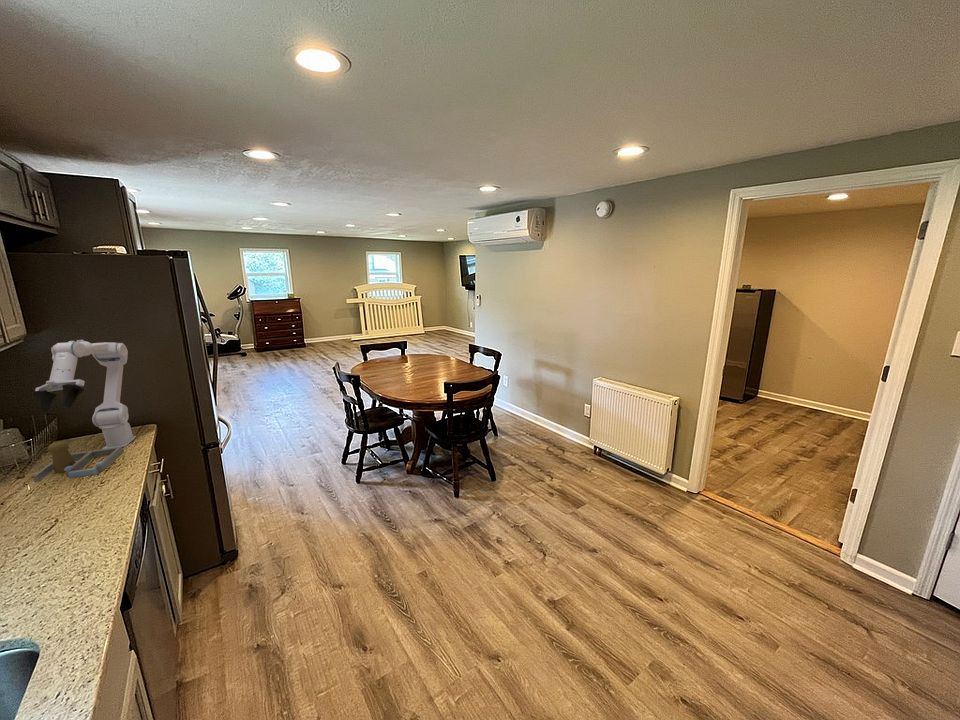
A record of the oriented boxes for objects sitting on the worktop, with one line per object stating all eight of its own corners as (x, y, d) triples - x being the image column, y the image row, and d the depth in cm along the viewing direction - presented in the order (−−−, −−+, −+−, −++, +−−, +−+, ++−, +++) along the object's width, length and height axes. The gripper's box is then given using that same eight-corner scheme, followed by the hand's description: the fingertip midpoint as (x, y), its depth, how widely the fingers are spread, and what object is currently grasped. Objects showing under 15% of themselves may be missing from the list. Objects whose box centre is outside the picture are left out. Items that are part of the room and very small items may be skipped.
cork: (65, 473, 141) (55, 447, 138) (49, 473, 141) (39, 447, 138) (81, 464, 146) (73, 439, 143) (66, 464, 147) (57, 439, 143)
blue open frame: (62, 460, 149) (60, 453, 148) (123, 451, 156) (121, 444, 155) (32, 483, 135) (29, 475, 134) (101, 473, 141) (98, 465, 140)
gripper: (29, 373, 131) (19, 410, 125) (73, 364, 132) (65, 401, 126) (50, 380, 137) (42, 415, 132) (92, 371, 138) (86, 406, 133)
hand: (55, 409), depth 130 cm, fingers open, 7 cm apart
